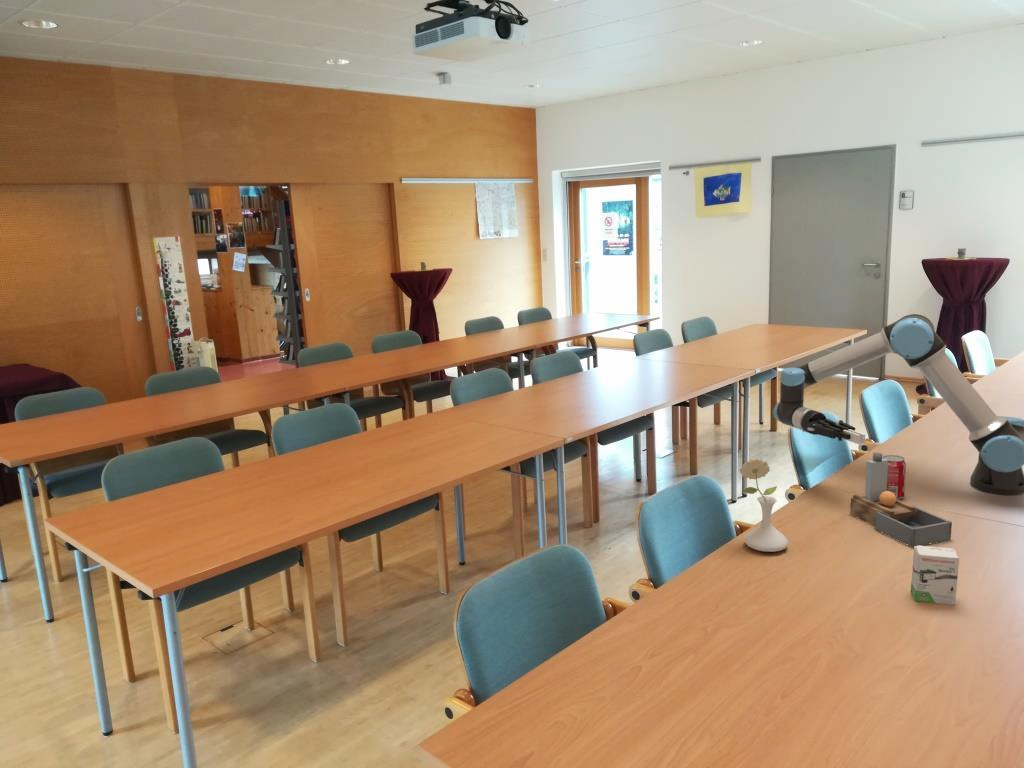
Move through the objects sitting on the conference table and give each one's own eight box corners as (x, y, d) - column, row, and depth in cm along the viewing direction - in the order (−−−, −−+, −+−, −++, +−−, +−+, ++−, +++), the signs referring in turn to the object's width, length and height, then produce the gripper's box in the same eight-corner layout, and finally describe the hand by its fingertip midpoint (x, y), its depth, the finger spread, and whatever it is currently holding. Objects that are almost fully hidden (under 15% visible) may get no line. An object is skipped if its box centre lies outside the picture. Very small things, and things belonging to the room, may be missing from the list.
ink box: (914, 601, 175) (917, 553, 172) (910, 591, 179) (913, 544, 177) (956, 605, 172) (960, 557, 170) (951, 595, 177) (954, 548, 174)
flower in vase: (790, 541, 210) (792, 455, 205) (785, 558, 200) (788, 468, 195) (741, 535, 215) (742, 451, 210) (734, 551, 205) (736, 463, 200)
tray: (874, 528, 215) (875, 512, 214) (911, 522, 219) (912, 505, 218) (912, 547, 202) (913, 529, 201) (950, 539, 206) (951, 522, 205)
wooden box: (850, 514, 227) (850, 495, 225) (877, 509, 229) (878, 490, 228) (887, 532, 213) (888, 512, 211) (916, 527, 215) (917, 507, 214)
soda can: (907, 501, 234) (909, 461, 231) (882, 501, 235) (884, 461, 233) (900, 493, 241) (902, 454, 238) (876, 493, 242) (878, 454, 239)
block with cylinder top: (864, 499, 223) (866, 454, 220) (880, 496, 225) (882, 451, 222) (870, 502, 221) (872, 456, 218) (886, 499, 222) (889, 453, 220)
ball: (893, 503, 220) (894, 489, 219) (897, 509, 216) (898, 494, 215) (877, 502, 221) (878, 488, 220) (880, 508, 217) (881, 493, 216)
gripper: (827, 429, 251) (880, 448, 228) (791, 434, 247) (841, 454, 225) (828, 407, 249) (881, 424, 227) (791, 412, 245) (842, 429, 223)
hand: (861, 439), depth 226 cm, fingers closed
